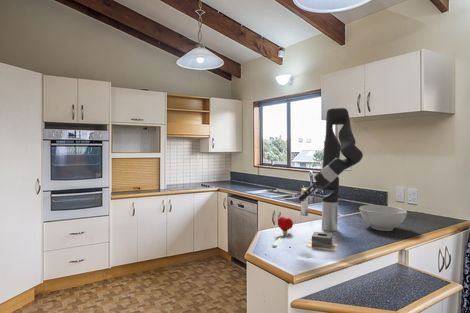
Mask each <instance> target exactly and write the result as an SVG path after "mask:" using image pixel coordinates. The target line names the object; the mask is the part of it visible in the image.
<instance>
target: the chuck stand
mask: <svg viewBox="0 0 470 313" xmlns="http://www.w3.org/2000/svg"><path fill="white" fill-rule="evenodd" d="M333 236H334V234H333V233H330V232H321V231H314V232H313V233H312V235H311V239H309V240H308V242H307V243H306V245H305V248H308V249H314V250H315V249H316V250H323V251H332V252H336V250H337V247H338V242H334V241H333V238H334V237H333Z"/></svg>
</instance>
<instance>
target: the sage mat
mask: <svg viewBox="0 0 470 313" xmlns="http://www.w3.org/2000/svg"><path fill="white" fill-rule="evenodd" d="M284 239H285V238H284V237H279V238H277V240H276V241H274V243H273V244H272V248H277V247H278V246H279V245H280V244H281V242H282V241H283V240H284Z"/></svg>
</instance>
